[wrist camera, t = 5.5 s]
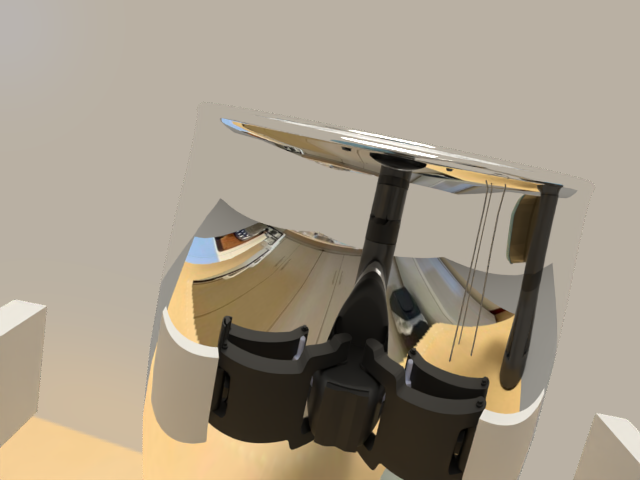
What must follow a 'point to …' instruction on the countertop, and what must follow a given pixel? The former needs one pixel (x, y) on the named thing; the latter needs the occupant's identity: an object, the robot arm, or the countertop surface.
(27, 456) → the countertop surface
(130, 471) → the countertop surface
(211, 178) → the beer glass
